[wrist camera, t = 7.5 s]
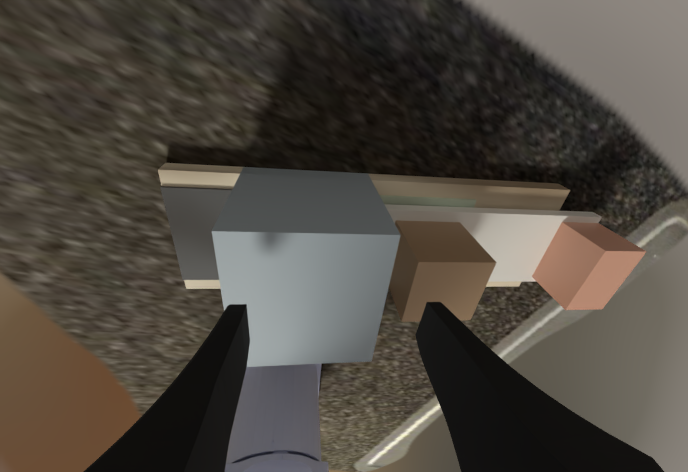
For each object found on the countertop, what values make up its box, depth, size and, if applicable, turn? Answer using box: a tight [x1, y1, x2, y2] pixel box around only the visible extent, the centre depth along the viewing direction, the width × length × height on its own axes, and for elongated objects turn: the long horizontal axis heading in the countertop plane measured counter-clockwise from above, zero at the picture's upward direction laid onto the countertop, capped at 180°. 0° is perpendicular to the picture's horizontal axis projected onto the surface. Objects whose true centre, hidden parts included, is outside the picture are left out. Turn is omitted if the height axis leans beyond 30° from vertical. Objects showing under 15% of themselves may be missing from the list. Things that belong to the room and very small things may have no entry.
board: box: [158, 163, 570, 289], centre depth 22 cm, size 9×27×1 cm, turn 84°
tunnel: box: [212, 167, 401, 367], centre depth 18 cm, size 9×8×8 cm
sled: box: [384, 204, 646, 322], centre depth 20 cm, size 6×17×5 cm, turn 84°
